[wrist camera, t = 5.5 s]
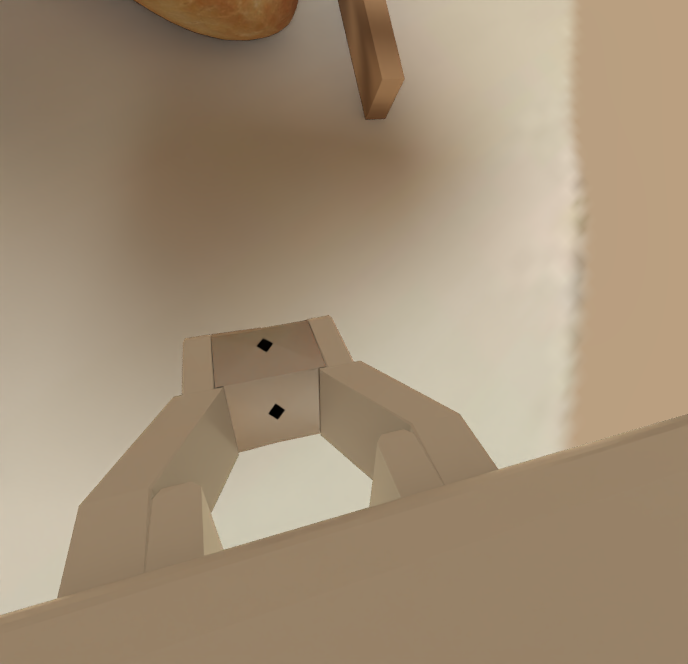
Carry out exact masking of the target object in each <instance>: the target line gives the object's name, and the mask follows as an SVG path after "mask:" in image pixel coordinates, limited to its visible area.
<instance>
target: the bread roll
mask: <svg viewBox="0 0 688 664" xmlns="http://www.w3.org/2000/svg"><path fill="white" fill-rule="evenodd" d="M134 1H136V2H137V3H139V4H141V5H142V6H144V7H146V8H147V9H149V10H150V11H152V12H154V13H156V14H157V15H159V16H161V17H163V18H164V19H166V20H168V21H170V22H172V23H174V24H176V25H179V26H181V27H183V28H186V29H188V30H191V31H193V32H196V33H199V34H203V35H207V36H211V37H215V38H219V39H227V40H252V39H258V38H263V37H267V36H270V35H273V34H275V33H278V32H279V31H280V30H282V29H283V28H284V27H286V26H287V25H288V24H289V23H290V21H291V20H292V17H293V15H294V13H295V10H296V8H297V3H298V0H134Z"/></svg>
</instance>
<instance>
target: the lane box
mask: <svg viewBox="0 0 688 664" xmlns="http://www.w3.org/2000/svg"><path fill="white" fill-rule="evenodd" d="M338 2H339V7H340V11H341V15H342V20H343V24H344V28H345V33H346V37H347V41H348V46H349V50H350V54H351V59H352V63H353V67H354V72H355V76H356V80H357V85H358V89H359V93H360V98H361V102H362V106H363V111H364V115H365V119H366V120H367V119H385V118H386V116H387V114H388V112H389V110H390V108H391V106H392V104H393V102H394V100H395V98H396V95H397V93H398V91H399V89H400V87H401V85H402V83H403V81H404V79H405V78H404V74H403V70H402V66H401V62H400V58H399V54H398V49H397V45H396V41H395V37H394V33H393V29H392V25H391V21H390V17H389V12H388V8H387V4H386V0H338Z"/></svg>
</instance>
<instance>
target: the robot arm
mask: <svg viewBox="0 0 688 664" xmlns="http://www.w3.org/2000/svg"><path fill="white" fill-rule="evenodd" d="M320 433H321V436H322V437H324V438H325V439H326V440H327V441H328V442H329V443H330V444H332V445H333V446H334V447H335V448H336V449H337V450H338V451H340V452H341V453H342V454H343V455H344V456H345V457H347V458H348V459H349V460H350V461H351V462H352V463H353V464H355V465H356V466H357V467H358V468H359V469H360V470H361V471H363V472H364V473H365V474H366V475H367V476H368V477H370V478H371V479H372V480H373V482H372V489H371V497H370V505H369V508H365V509H362V510H358V511H355V512H352V513H348V514H345V515H341V516H338V517H335V518H331V519H328V520H324V521H321V522H317V523H314V524H311V525H307V526H304V527H300V528H297V529H294V530H290V531H287V532H283V533H280V534H276V535H273V536H270V537H266V538H263V539H259V540H256V541H252V542H249V543H246V544H242V545H239V546H235V547H232V548H229V549H225V550H223V547H222V544H221V541H220V538H219V535H218V533H217V530H216V527H215V524H214V521H213V518H212V515H211V512H212V510H213V508H214V506H215V504H216V502H217V500H218V498H219V496H220V493H221V491H222V489H223V487H224V485H225V483H226V481H227V479H228V477H229V475H230V472H231V470H232V468H233V466H234V464H235V462H236V460H237V458H238V456H239V454H238V453H239V452H243V451H246V450H250V449H254V448H258V447H262V446H265V445H269V444H273V443H277V442H281V441H286V440H291V439H295V438H300V437H305V436H310V435H315V434H320ZM0 664H688V414H686V415H683V416H679V417H676V418H673V419H669V420H666V421H662V422H659V423H655V424H652V425H649V426H645V427H642V428H638V429H635V430H632V431H629V432H625V433H621V434H618V435H614V436H611V437H608V438H605V439H601V440H598V441H594V442H591V443H587V444H584V445H580V446H577V447H574V448H570V449H567V450H563V451H560V452H556V453H553V454H550V455H546V456H543V457H539V458H536V459H533V460H529V461H526V462H522V463H519V464H515V465H512V466H509V467H505V468H502V469H498V468H497V467H496V465H495V464H494V462H493V461H492V460H491V458H490V457H489V455H488V454H487V452H486V451H485V449H484V448H483V447H482V445H481V444H480V442H479V441H478V439H477V438H476V437H475V435H474V434H473V432H472V431H471V429H470V428H469V427H468V425H467V424H466V422H465V421H464V419H463V418H462V417H461V415H460V414H459V413H457V412H455V411H453V410H451V409H449V408H448V407H446V406H444V405H442V404H440V403H438V402H436V401H435V400H433V399H431V398H429V397H427V396H425V395H423V394H422V393H420V392H418V391H416V390H414V389H412V388H410V387H409V386H407V385H405V384H403V383H401V382H399V381H397V380H395V379H394V378H392V377H390V376H388V375H386V374H384V373H382V372H381V371H379V370H377V369H375V368H373V367H371V366H369V365H368V364H366V363H364V362H362V361H357V362H354V361H353V359H352V357H351V355H350V353H349V351H348V349H347V347H346V345H345V343H344V341H343V339H342V337H341V335H340V333H339V331H338V329H337V327H336V325H335V323H334V321H333V319H332V317H330V316H329V315H328V316H322V317H317V318H312V319H307V320H305V321H299V322H293V323H287V324H281V325H275V326H269V327H263V328H261V327H260V328H253V329H246V330H238V331H231V332H224V333H217V334H212V335H203V336H197V337H190V338H185V340H184V342H183V367H182V395H180V396H175V397H173V398H172V399H171V400H170V402H169V403H168V404H167V405H166V406H165V407H164V409H163V410H162V411H161V412H160V413H159V414H158V415H157V417H156V418H155V419H154V420H153V421H152V422H151V424H150V425H149V426H148V427H147V428H146V429H145V430H144V432H143V433H142V434H141V435H140V436H139V437H138V439H137V440H136V441H135V442H134V443H133V444H132V445H131V447H130V448H129V449H128V450H127V451H126V452H125V454H124V455H123V456H122V457H121V458H120V459H119V460H118V462H117V463H116V464H115V465H114V466H113V467H112V469H111V470H110V471H109V472H108V473H107V474H106V475H105V477H104V478H103V479H102V480H101V481H100V482H99V484H98V485H97V486H96V487H95V488H94V489H93V490H92V492H91V493H90V494H89V495H88V496H87V497H86V499H85V500H84V501H83V502H82V503H81V504H80V506H79V508H78V513H77V517H76V521H75V525H74V530H73V534H72V538H71V542H70V547H69V551H68V555H67V559H66V564H65V568H64V572H63V576H62V581H61V585H60V589H59V593H58V598H57V599H54V600H51V601H47V602H44V603H40V604H37V605H33V606H30V607H27V608H23V609H20V610H16V611H13V612H10V613H6V614H3V615H0Z"/></svg>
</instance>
